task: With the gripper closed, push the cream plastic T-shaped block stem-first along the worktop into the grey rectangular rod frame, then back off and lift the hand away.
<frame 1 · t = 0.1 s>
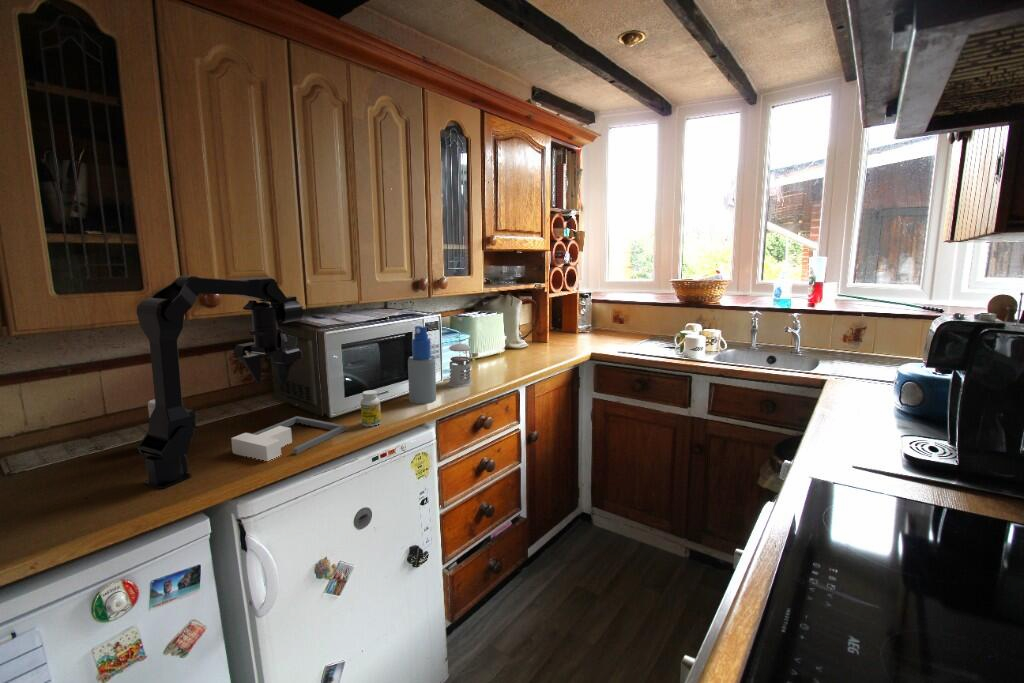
hand: (270, 383, 129), 15 cm above the countertop, tool pointing down, fingers open, 9 cm apart
grey rectangular rod frame: (297, 436, 132), on the countertop
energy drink: (166, 445, 126), on the countertop
spray bottle: (422, 400, 164), on the countertop
t block: (269, 449, 124), on the countertop
french press: (461, 383, 183), on the countertop
supplement bottle: (371, 424, 141), on the countertop
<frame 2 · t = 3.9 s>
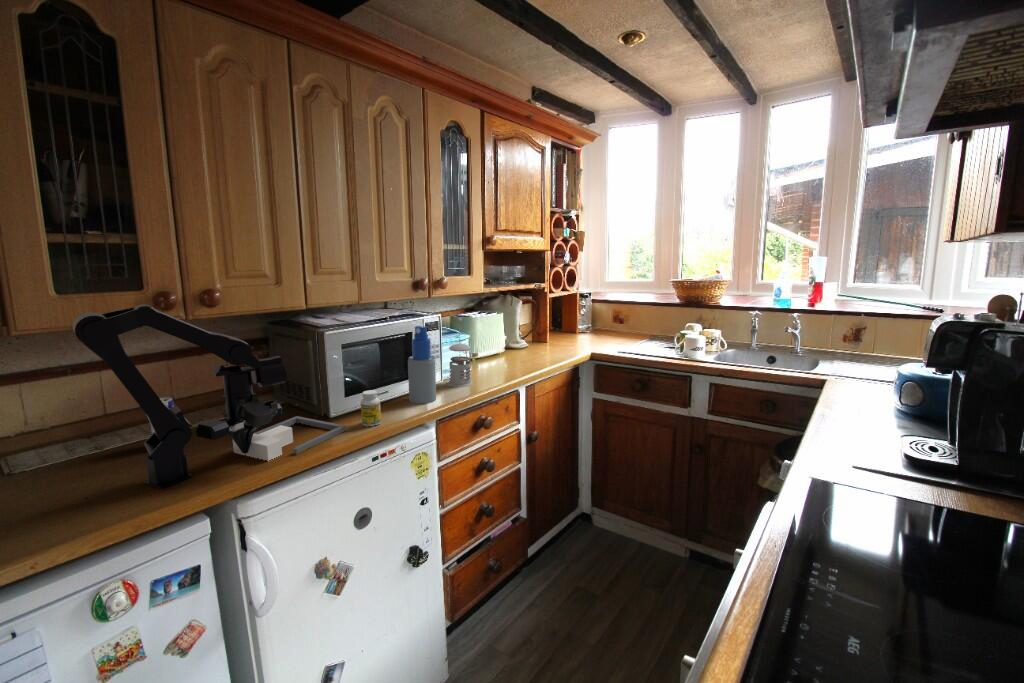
hand: (245, 453, 117), 2 cm above the countertop, tool pointing down, fingers closed
t block: (269, 448, 124), on the countertop, touching gripper
everything else where it was.
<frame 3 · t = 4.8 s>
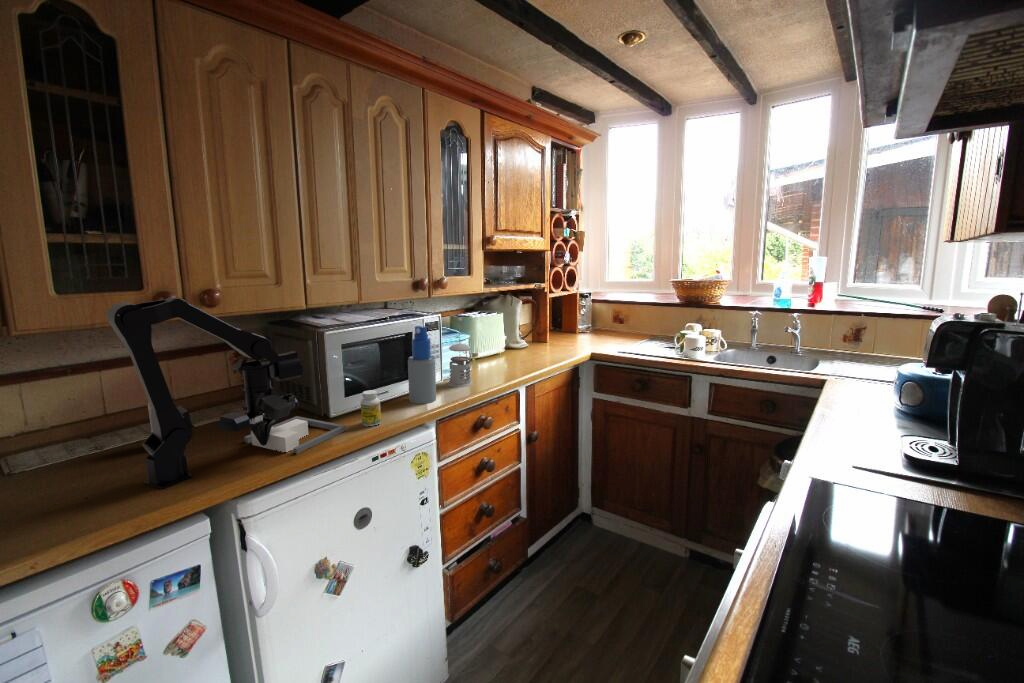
hand: (263, 444, 122), 2 cm above the countertop, tool pointing down, fingers closed
t block: (286, 441, 128), on the countertop, touching gripper
everything else where it was.
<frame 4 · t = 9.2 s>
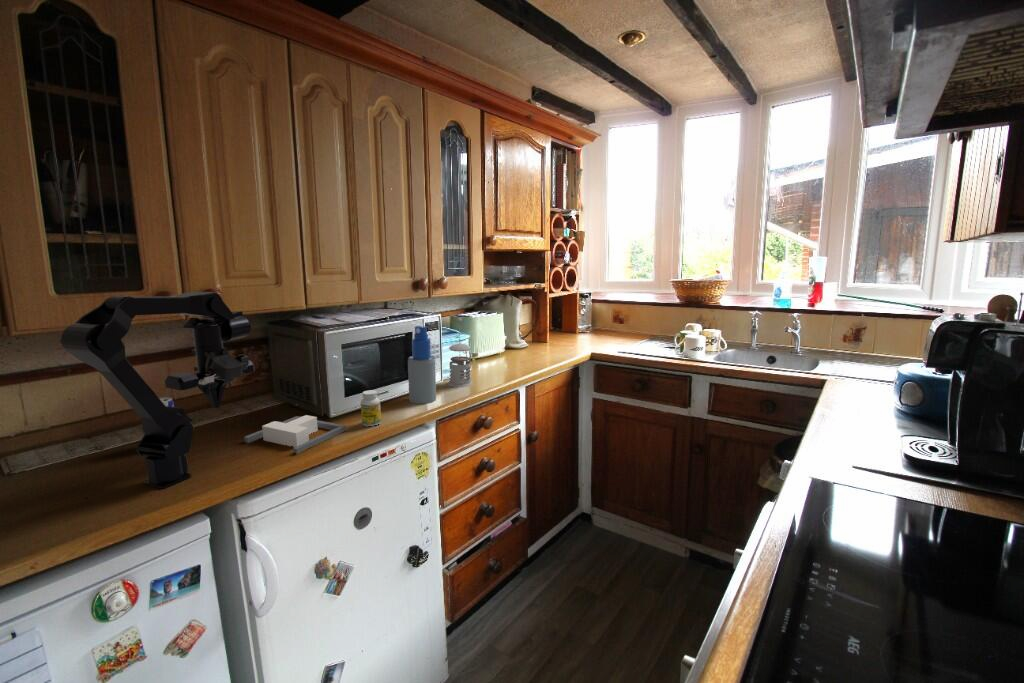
hand: (216, 407, 118), 12 cm above the countertop, tool pointing down, fingers closed
t block: (296, 436, 132), on the countertop
everything else where it was.
at the end: t block 0.6 cm off-centre on the grey rectangular rod frame, point 0.0 cm above the grey rectangular rod frame's base; t block tilted 0°; t block moved 8.9 cm from its start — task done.
